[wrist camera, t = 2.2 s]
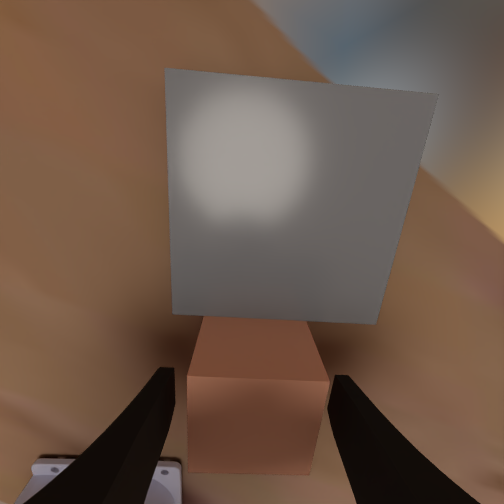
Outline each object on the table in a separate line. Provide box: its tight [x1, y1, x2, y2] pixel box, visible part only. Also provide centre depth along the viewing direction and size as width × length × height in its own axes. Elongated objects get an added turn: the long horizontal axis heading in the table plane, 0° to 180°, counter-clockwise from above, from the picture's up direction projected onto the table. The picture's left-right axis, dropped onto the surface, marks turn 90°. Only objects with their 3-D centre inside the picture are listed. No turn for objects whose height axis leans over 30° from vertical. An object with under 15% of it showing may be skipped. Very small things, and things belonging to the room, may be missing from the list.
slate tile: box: [165, 68, 439, 325], centre depth 11 cm, size 10×10×1 cm
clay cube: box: [187, 316, 330, 475], centre depth 12 cm, size 5×5×5 cm
